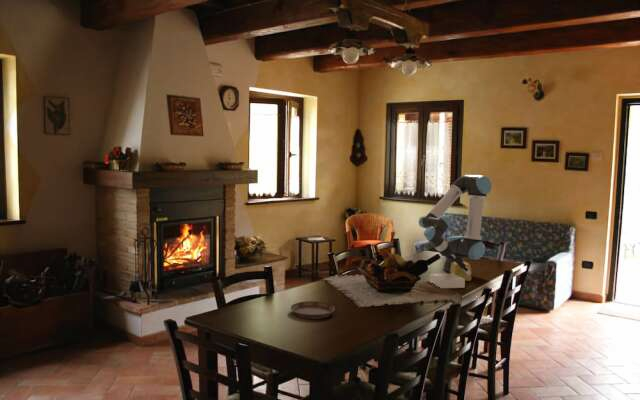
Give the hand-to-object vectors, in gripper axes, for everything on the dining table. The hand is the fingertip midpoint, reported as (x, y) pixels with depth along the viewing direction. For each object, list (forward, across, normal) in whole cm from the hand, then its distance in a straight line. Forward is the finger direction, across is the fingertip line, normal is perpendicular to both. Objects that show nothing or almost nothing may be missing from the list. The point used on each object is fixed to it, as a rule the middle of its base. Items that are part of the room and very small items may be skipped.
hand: (464, 271), depth 333 cm
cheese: (+1, 0, -5) cm, 5 cm away
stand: (-10, +14, -16) cm, 24 cm away
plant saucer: (-74, +61, -81) cm, 126 cm away
